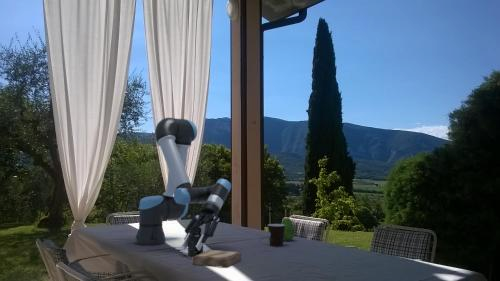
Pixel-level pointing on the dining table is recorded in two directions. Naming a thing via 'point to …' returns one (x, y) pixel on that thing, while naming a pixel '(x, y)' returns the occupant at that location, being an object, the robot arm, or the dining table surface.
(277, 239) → the coffee mug
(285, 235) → the avocado
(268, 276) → the dining table surface
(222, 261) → the pedestal
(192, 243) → the supplement bottle
